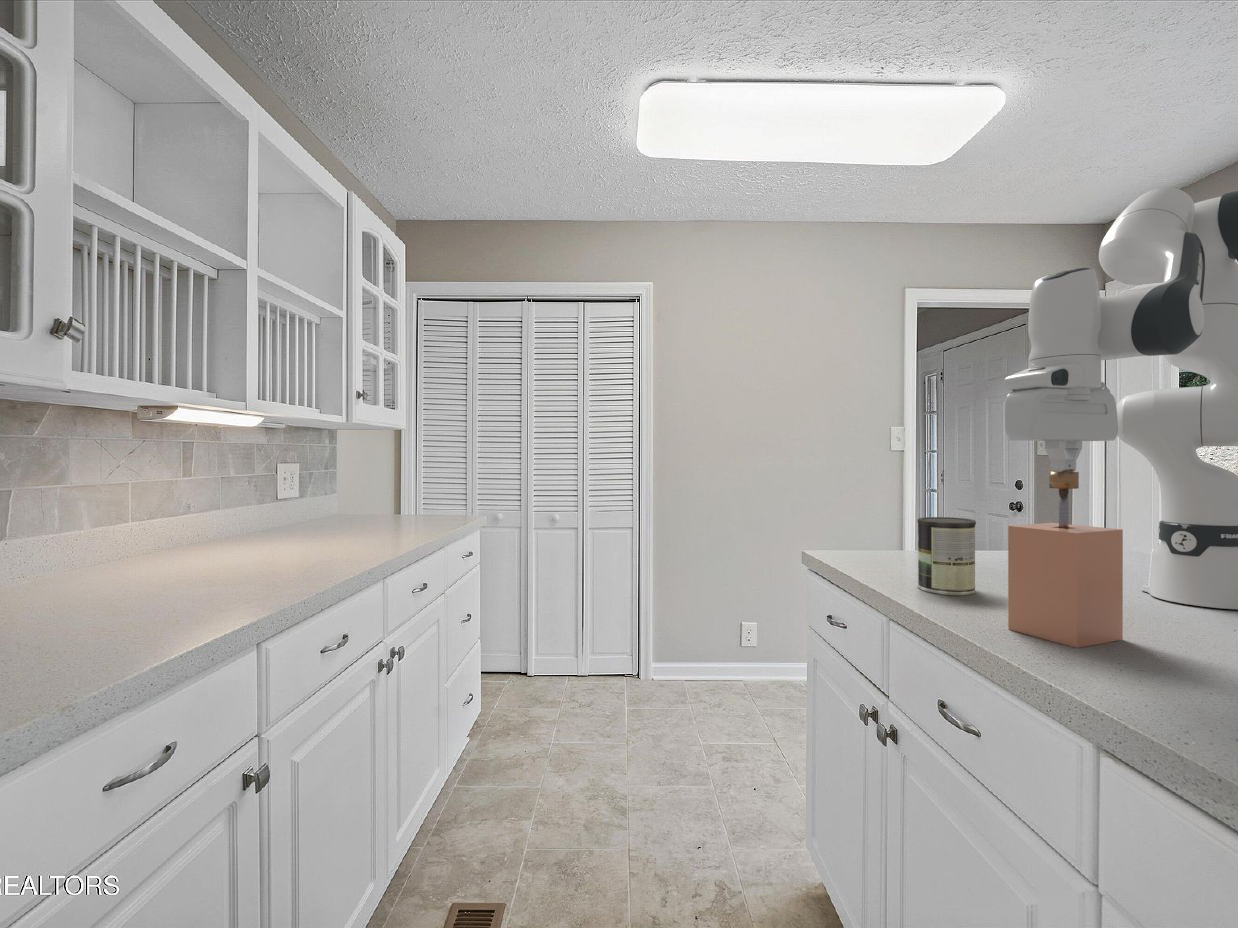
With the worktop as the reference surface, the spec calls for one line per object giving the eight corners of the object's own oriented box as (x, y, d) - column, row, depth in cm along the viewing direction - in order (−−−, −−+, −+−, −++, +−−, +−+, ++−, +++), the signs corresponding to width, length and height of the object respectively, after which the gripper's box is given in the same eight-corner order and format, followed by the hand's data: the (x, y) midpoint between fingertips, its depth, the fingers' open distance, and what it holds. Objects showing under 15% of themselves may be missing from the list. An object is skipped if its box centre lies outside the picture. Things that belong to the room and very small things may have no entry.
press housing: (1052, 622, 98) (1052, 522, 98) (1122, 639, 89) (1122, 529, 88) (1008, 629, 94) (1008, 525, 94) (1077, 647, 85) (1077, 533, 85)
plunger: (1054, 553, 96) (1054, 471, 96) (1109, 560, 89) (1109, 472, 89) (1020, 556, 93) (1020, 471, 93) (1073, 564, 86) (1073, 473, 86)
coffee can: (906, 588, 124) (906, 518, 124) (936, 582, 129) (936, 515, 129) (957, 598, 115) (956, 523, 115) (986, 591, 120) (986, 520, 120)
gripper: (1086, 384, 98) (1086, 470, 98) (996, 378, 90) (995, 472, 90) (1131, 379, 92) (1131, 471, 92) (1038, 373, 84) (1038, 473, 85)
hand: (1063, 471), depth 91 cm, fingers closed, pressing on plunger
